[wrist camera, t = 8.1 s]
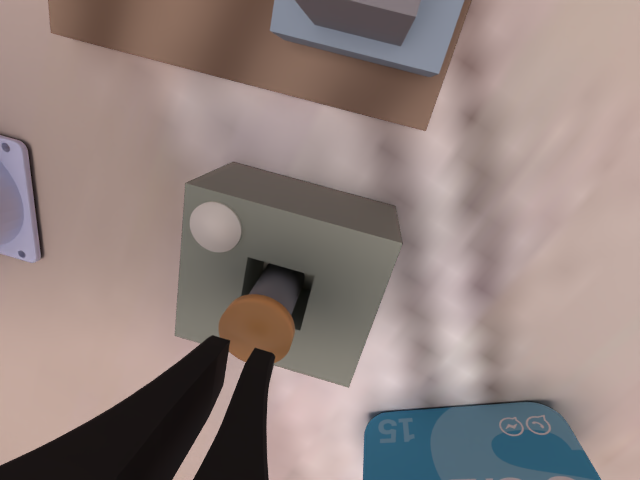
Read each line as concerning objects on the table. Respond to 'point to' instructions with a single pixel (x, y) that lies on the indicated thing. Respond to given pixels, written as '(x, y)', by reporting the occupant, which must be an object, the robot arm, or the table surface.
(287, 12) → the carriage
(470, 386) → the table surface
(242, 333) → the button
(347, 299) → the cabinet
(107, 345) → the table surface
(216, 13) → the rail
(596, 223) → the table surface
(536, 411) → the data package
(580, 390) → the table surface
